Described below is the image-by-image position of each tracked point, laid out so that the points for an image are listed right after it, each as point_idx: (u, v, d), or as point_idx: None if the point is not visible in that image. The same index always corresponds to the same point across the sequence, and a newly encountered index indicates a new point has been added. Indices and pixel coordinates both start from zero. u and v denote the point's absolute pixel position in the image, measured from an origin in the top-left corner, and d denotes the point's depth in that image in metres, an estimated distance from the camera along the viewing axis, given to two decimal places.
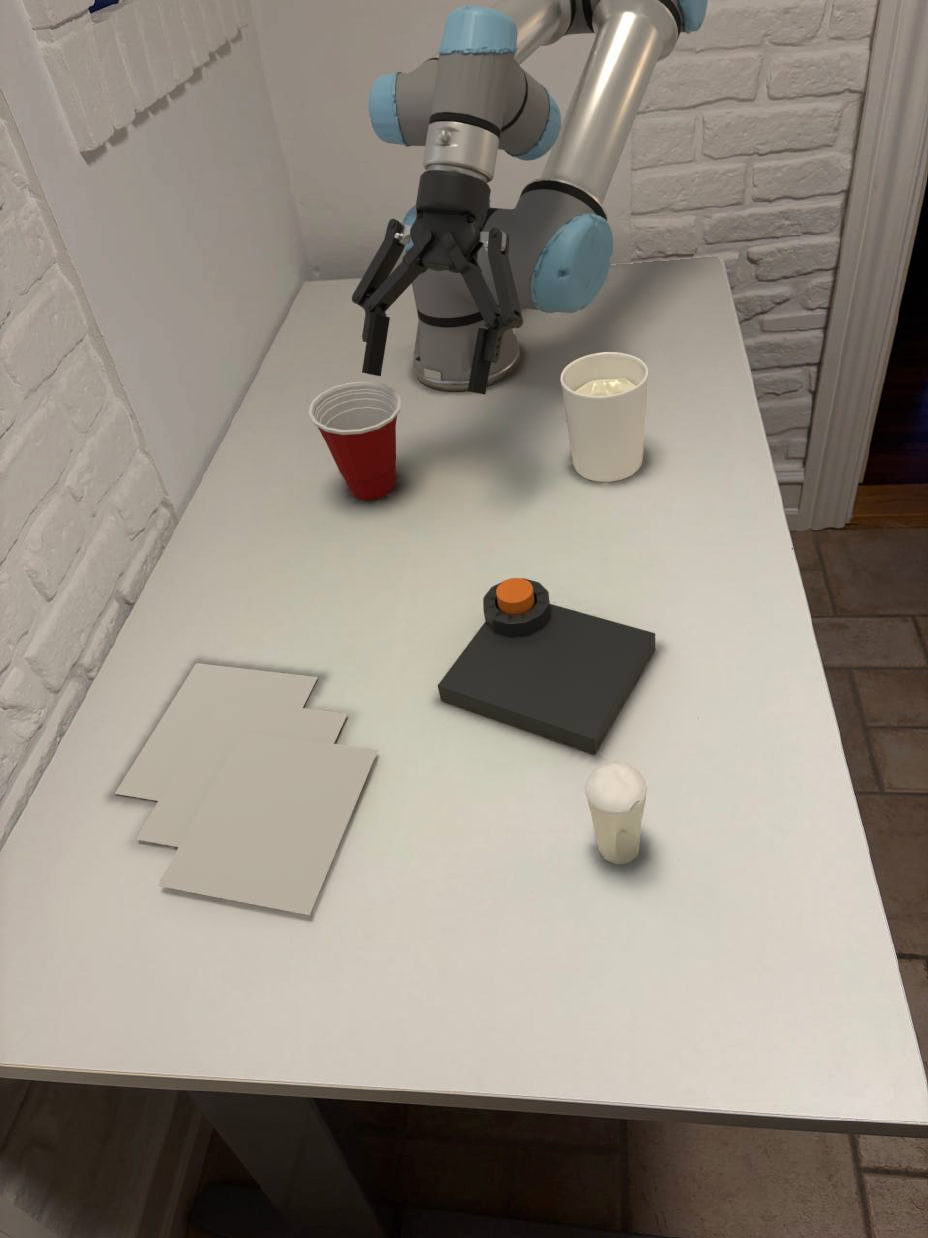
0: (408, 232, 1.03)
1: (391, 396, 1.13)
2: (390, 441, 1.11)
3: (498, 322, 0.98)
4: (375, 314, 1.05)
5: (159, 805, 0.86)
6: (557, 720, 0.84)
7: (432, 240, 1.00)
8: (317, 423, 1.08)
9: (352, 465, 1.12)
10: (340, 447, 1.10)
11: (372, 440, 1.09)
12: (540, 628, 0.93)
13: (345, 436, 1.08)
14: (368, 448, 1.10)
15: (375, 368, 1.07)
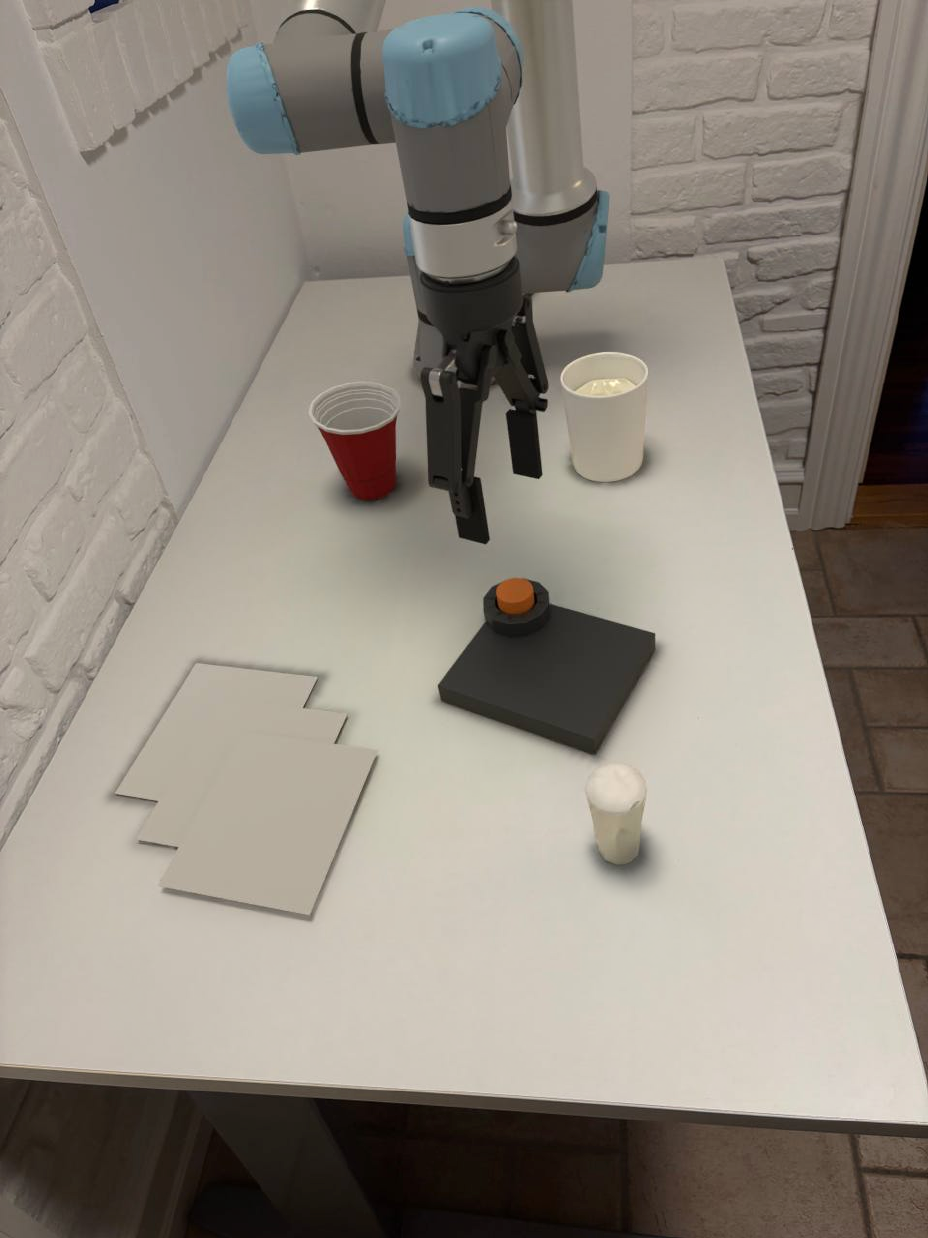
0: (455, 369, 0.72)
1: (391, 396, 1.13)
2: (390, 441, 1.11)
3: None
4: (479, 480, 0.78)
5: (159, 805, 0.86)
6: (557, 720, 0.84)
7: None
8: (317, 423, 1.08)
9: (352, 465, 1.12)
10: (340, 447, 1.10)
11: (372, 440, 1.09)
12: (540, 628, 0.93)
13: (345, 436, 1.08)
14: (368, 448, 1.10)
15: None
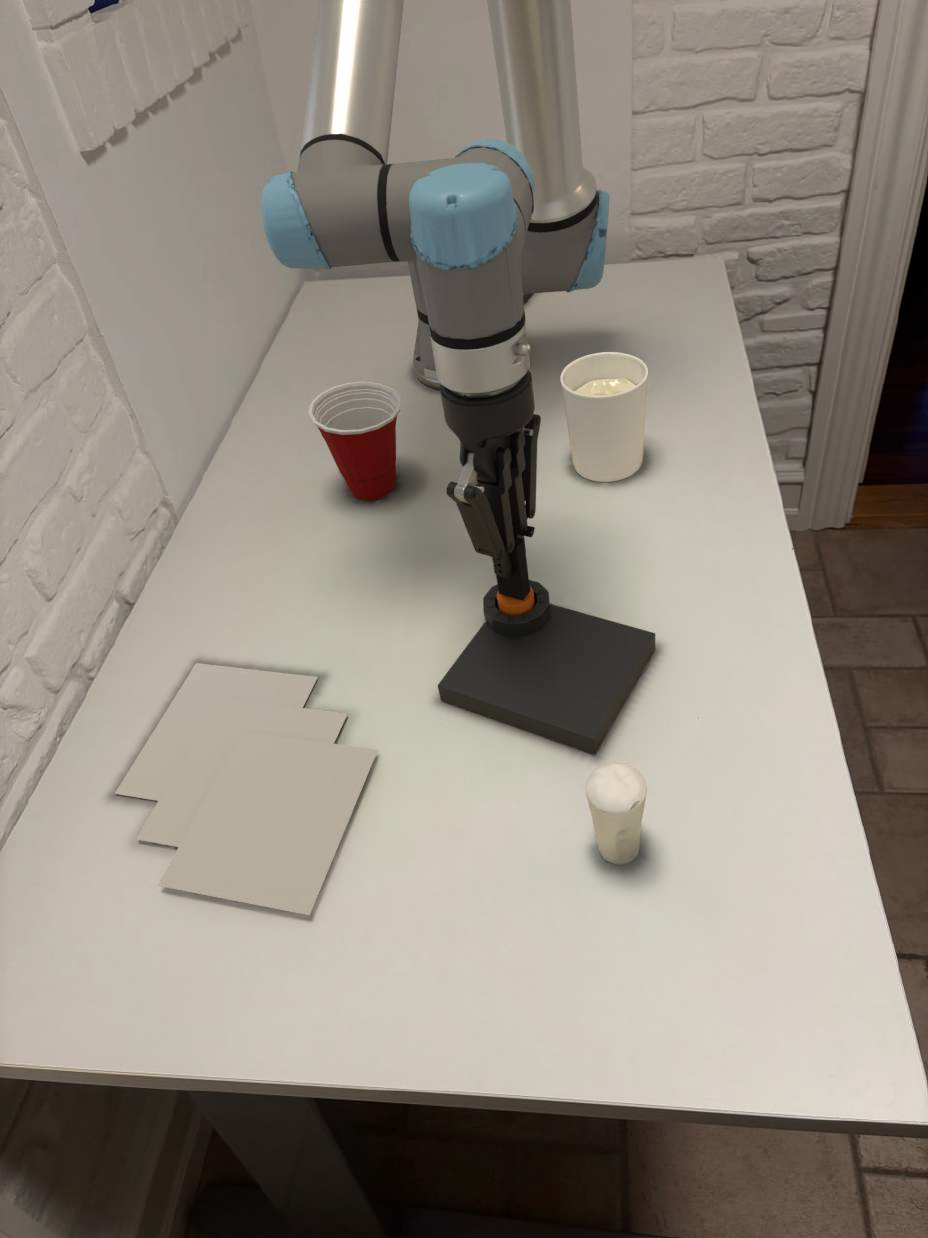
0: (476, 475, 0.79)
1: (391, 396, 1.13)
2: (390, 441, 1.11)
3: None
4: (519, 545, 0.88)
5: (159, 805, 0.86)
6: (557, 720, 0.84)
7: None
8: (317, 423, 1.08)
9: (352, 465, 1.12)
10: (340, 447, 1.10)
11: (372, 440, 1.09)
12: (540, 628, 0.93)
13: (345, 436, 1.08)
14: (368, 448, 1.10)
15: None
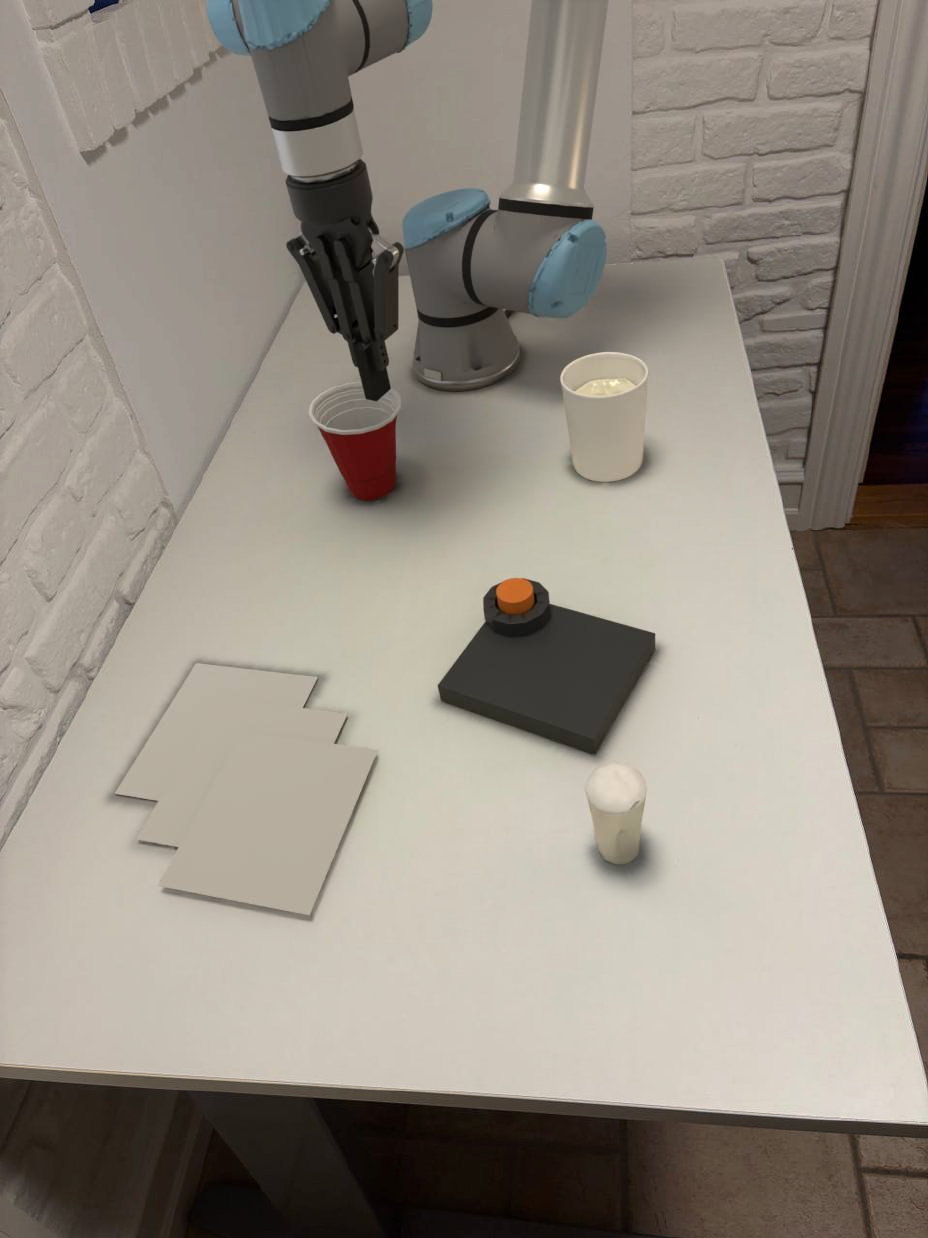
0: None
1: (391, 396, 1.13)
2: (390, 441, 1.11)
3: None
4: None
5: (159, 805, 0.86)
6: (557, 720, 0.84)
7: None
8: (317, 423, 1.08)
9: (352, 465, 1.12)
10: (340, 447, 1.10)
11: (372, 440, 1.09)
12: (540, 628, 0.93)
13: (345, 436, 1.08)
14: (368, 448, 1.10)
15: None
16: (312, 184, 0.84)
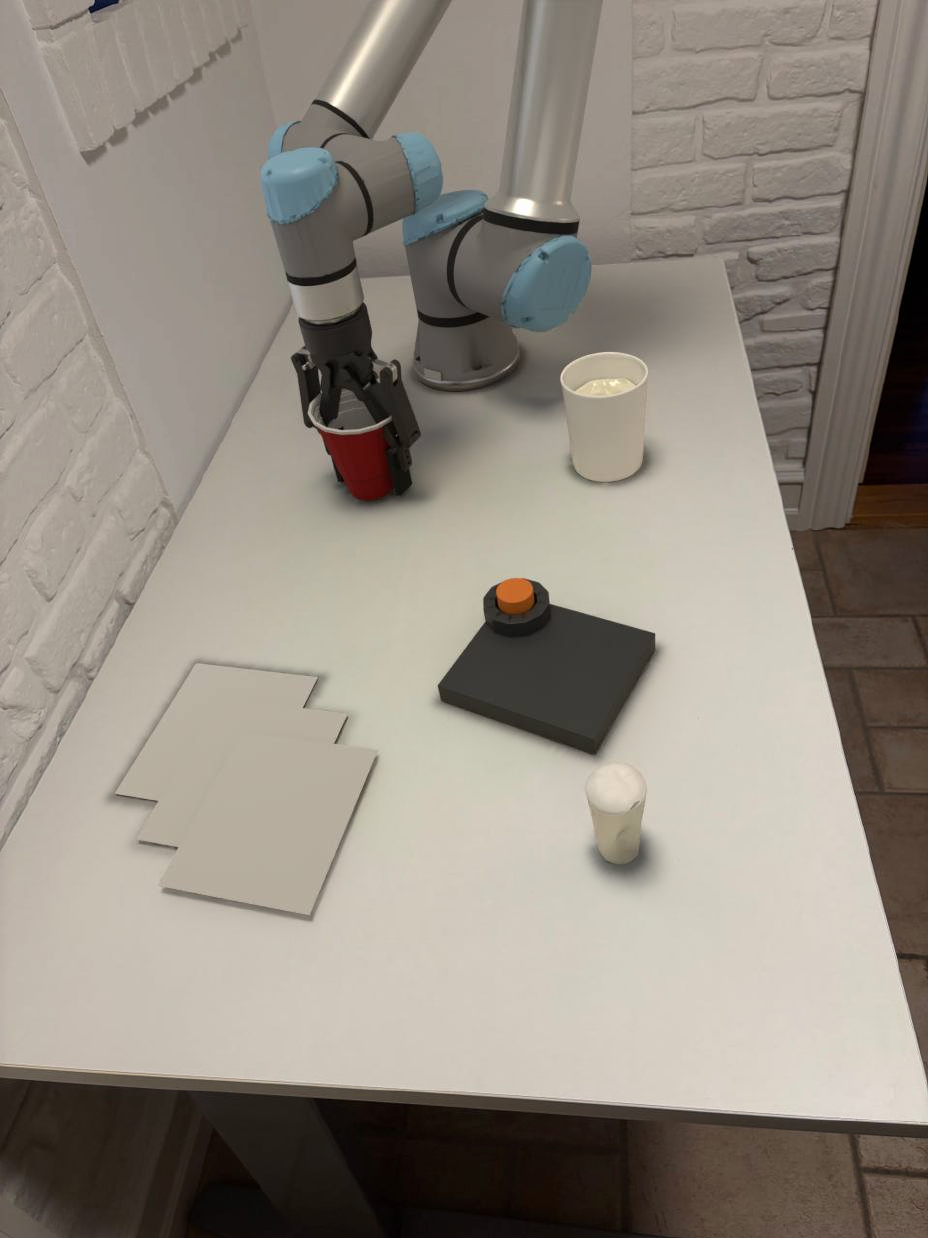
0: None
1: None
2: None
3: None
4: None
5: (159, 805, 0.86)
6: (557, 720, 0.84)
7: None
8: (316, 423, 1.08)
9: (351, 465, 1.12)
10: (339, 447, 1.10)
11: (371, 440, 1.09)
12: (540, 628, 0.93)
13: (344, 436, 1.08)
14: (367, 448, 1.10)
15: None
16: (322, 326, 1.00)
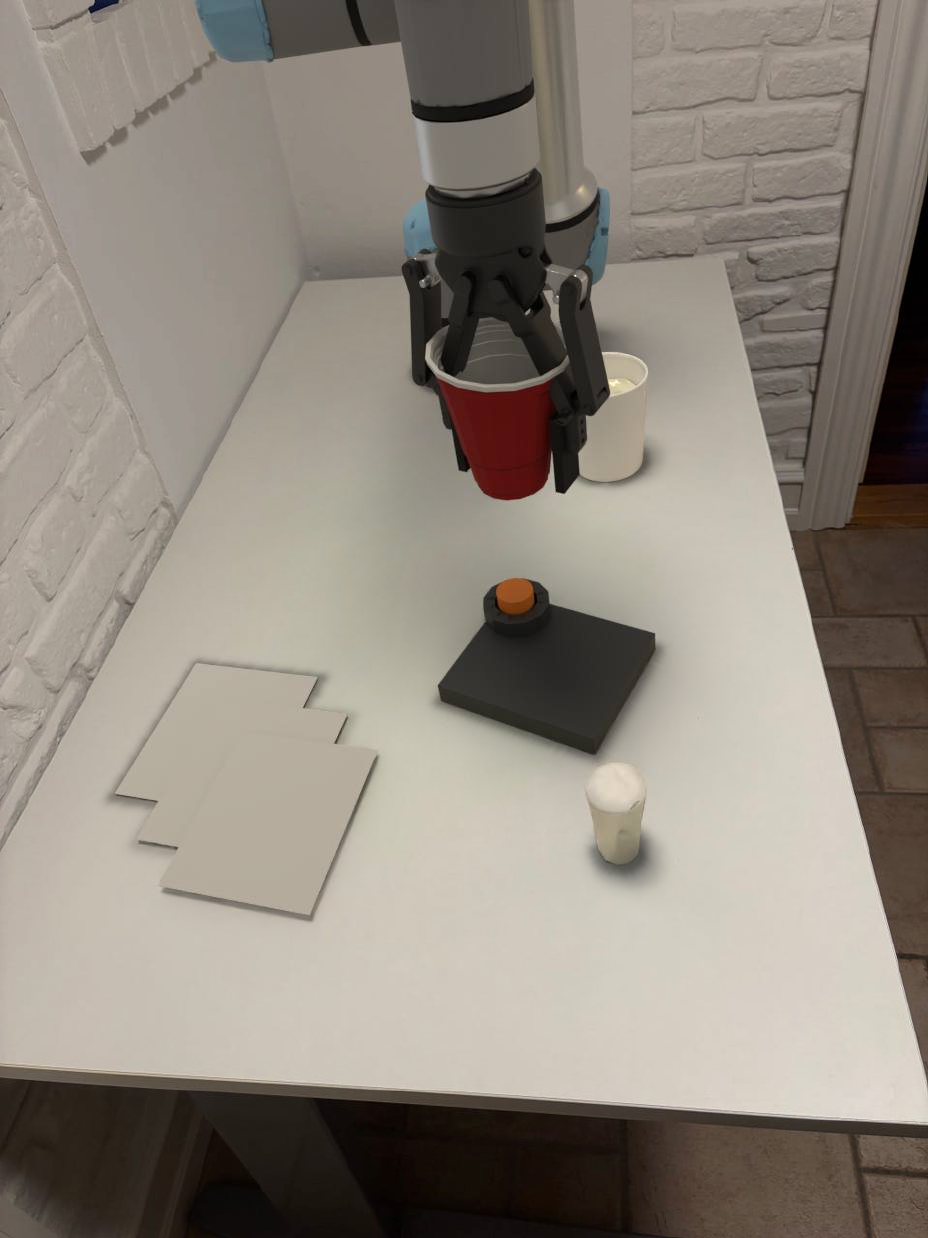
0: None
1: None
2: (553, 405, 0.70)
3: None
4: None
5: (159, 805, 0.86)
6: (557, 720, 0.84)
7: None
8: (442, 374, 0.66)
9: (492, 444, 0.70)
10: (477, 415, 0.68)
11: (530, 402, 0.67)
12: (540, 628, 0.93)
13: (489, 394, 0.66)
14: (522, 415, 0.68)
15: None
16: (472, 200, 0.58)
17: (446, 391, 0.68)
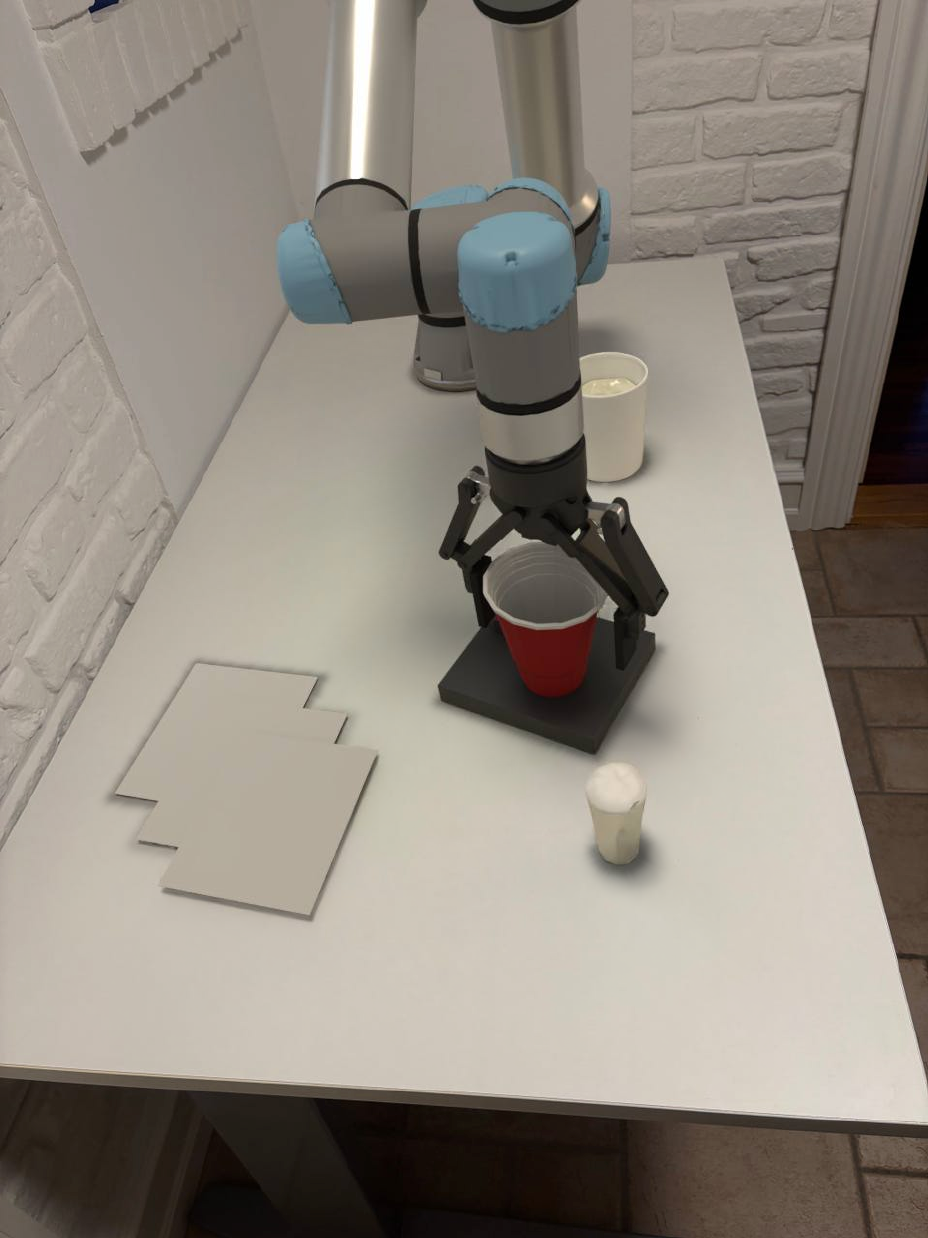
0: None
1: None
2: (591, 628, 0.81)
3: None
4: None
5: (159, 805, 0.86)
6: (557, 720, 0.84)
7: None
8: (499, 611, 0.78)
9: (539, 660, 0.82)
10: (527, 641, 0.80)
11: (573, 633, 0.79)
12: None
13: (539, 630, 0.78)
14: (566, 642, 0.80)
15: None
16: (527, 467, 0.68)
17: (501, 620, 0.80)
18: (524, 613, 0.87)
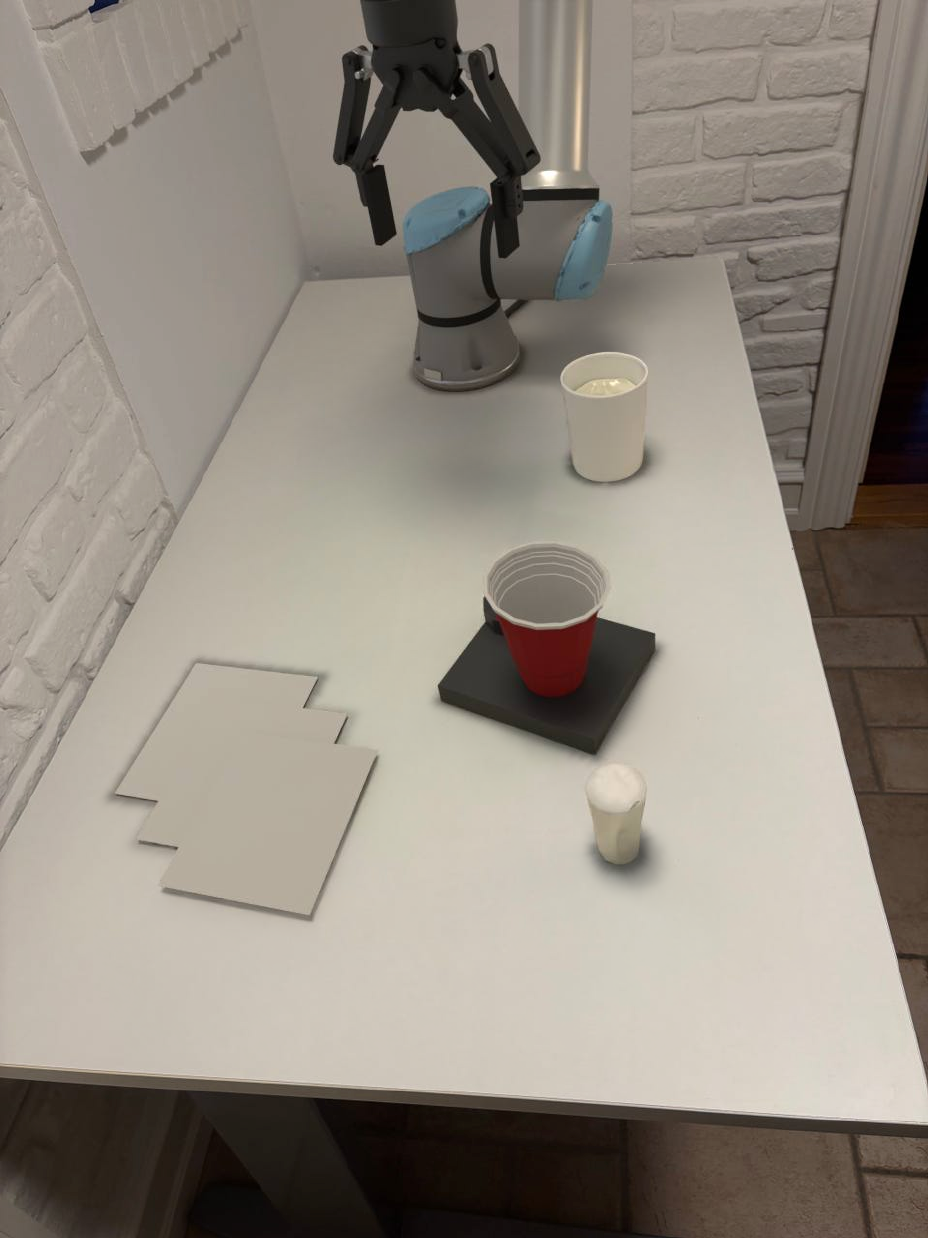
0: None
1: (591, 564, 0.83)
2: (592, 628, 0.81)
3: None
4: None
5: (159, 805, 0.86)
6: (557, 720, 0.84)
7: None
8: (499, 611, 0.78)
9: (539, 660, 0.82)
10: (527, 641, 0.80)
11: (573, 633, 0.79)
12: None
13: (539, 630, 0.78)
14: (566, 642, 0.80)
15: None
16: None
17: (501, 620, 0.80)
18: (524, 613, 0.87)
